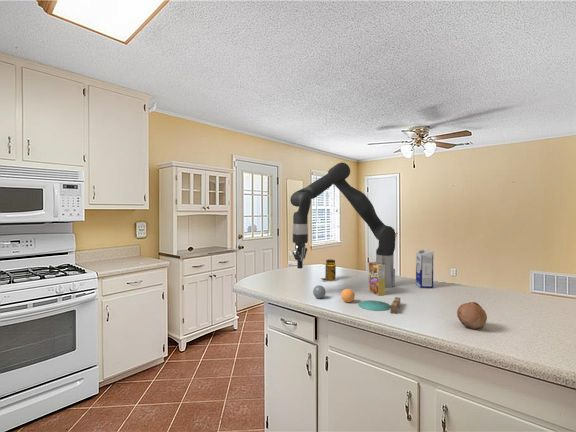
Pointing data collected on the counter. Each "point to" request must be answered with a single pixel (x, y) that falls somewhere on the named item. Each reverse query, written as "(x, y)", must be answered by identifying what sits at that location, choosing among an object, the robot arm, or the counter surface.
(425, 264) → the milk carton
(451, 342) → the counter surface
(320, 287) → the gray ball
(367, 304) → the teal mark
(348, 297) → the orange ball
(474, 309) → the brown oval lump
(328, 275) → the condiment
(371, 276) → the candy box
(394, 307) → the stop bar
